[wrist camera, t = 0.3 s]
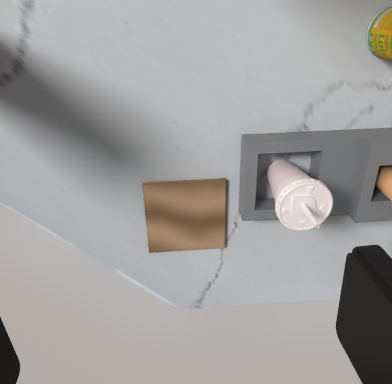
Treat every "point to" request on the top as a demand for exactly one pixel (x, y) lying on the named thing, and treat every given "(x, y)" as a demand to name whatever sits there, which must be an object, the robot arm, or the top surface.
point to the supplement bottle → (381, 34)
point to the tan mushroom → (384, 180)
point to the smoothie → (298, 196)
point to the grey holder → (324, 170)
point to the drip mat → (185, 214)
